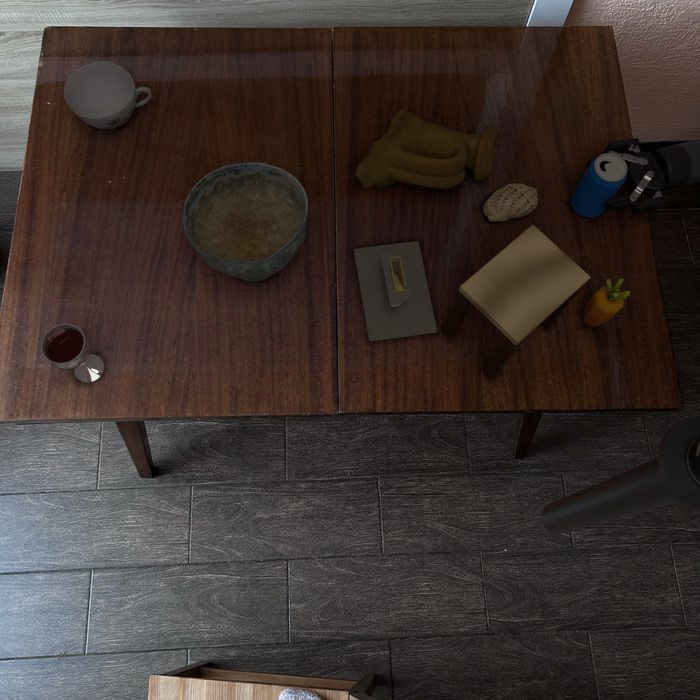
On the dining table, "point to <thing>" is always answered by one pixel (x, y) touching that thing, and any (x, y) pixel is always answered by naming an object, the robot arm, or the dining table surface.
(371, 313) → the platform
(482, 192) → the dining table surface
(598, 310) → the carrot
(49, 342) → the wineglass
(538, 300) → the stool
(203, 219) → the bowl
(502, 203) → the seashell
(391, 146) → the brown looped sculpture
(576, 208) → the beverage can
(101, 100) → the teacup
